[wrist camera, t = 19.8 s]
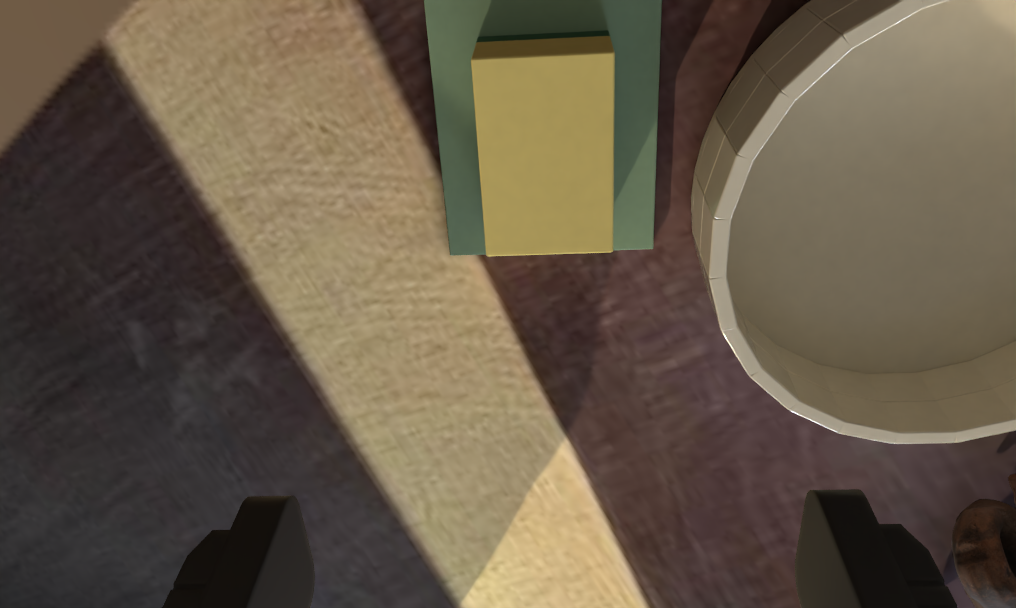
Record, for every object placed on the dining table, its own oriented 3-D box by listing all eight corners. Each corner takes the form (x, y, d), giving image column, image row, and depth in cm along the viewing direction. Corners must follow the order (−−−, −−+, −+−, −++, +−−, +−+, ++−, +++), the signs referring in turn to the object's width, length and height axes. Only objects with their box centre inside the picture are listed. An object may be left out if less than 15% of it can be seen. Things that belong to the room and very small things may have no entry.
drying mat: (424, -12, 28) (422, -10, 28) (661, -25, 28) (662, -23, 27) (451, 251, 33) (450, 255, 33) (652, 244, 33) (653, 249, 32)
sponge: (477, 36, 29) (470, 58, 26) (608, 29, 28) (615, 51, 26) (491, 221, 32) (486, 257, 30) (607, 217, 32) (613, 253, 29)
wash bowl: (704, -46, 27) (731, -23, 23) (1255, -76, 26) (1377, -57, 22) (680, 380, 36) (696, 448, 32) (1093, 371, 35) (1161, 440, 31)
